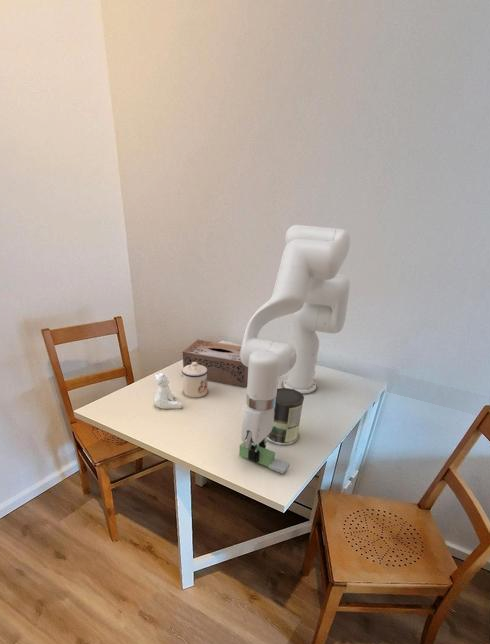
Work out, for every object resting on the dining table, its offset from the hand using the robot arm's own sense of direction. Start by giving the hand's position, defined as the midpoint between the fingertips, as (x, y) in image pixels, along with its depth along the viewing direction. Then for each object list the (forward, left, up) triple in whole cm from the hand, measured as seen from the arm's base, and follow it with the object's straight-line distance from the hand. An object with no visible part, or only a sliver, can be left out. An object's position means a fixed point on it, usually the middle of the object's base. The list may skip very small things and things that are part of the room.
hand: (256, 457), depth 109 cm
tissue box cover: (-42, -41, -2) cm, 59 cm away
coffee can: (-16, 0, -2) cm, 16 cm away
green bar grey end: (0, +2, -1) cm, 2 cm away
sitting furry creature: (-10, -42, -2) cm, 43 cm away
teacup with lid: (-25, -40, -2) cm, 47 cm away
